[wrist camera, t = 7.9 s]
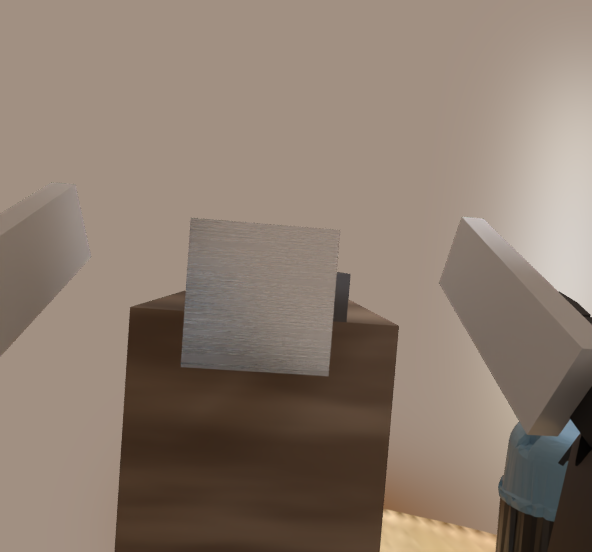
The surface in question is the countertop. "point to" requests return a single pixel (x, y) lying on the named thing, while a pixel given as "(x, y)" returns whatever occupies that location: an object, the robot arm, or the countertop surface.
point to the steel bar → (259, 297)
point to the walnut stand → (255, 442)
